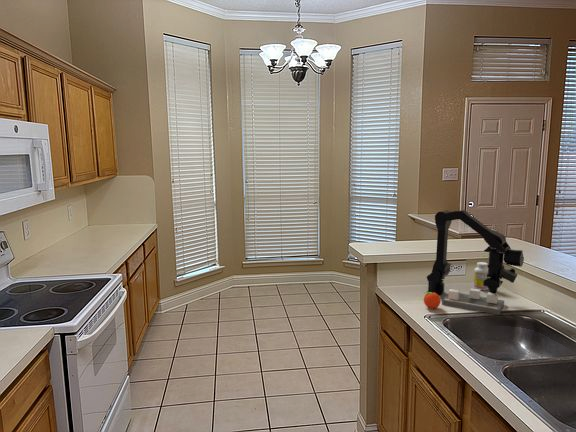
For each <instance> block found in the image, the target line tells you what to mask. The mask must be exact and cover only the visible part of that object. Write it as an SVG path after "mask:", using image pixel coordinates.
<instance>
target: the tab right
mask: <svg viewBox="0 0 576 432" xmlns="http://www.w3.org/2000/svg"><path fill="white" fill-rule="evenodd" d="M486 298H487V302H489V303H495V304H497V302H498V300H499V293H490V291H488V292H487V294H486Z"/></svg>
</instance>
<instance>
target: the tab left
mask: <svg viewBox="0 0 576 432" xmlns="http://www.w3.org/2000/svg"><path fill="white" fill-rule="evenodd" d="M448 293H449V295H448V299H454V300H458V299H459V295H460V293H461V291H460V290H458V289H453V288H450V289H449V290H448Z"/></svg>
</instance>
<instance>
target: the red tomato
mask: <svg viewBox="0 0 576 432" xmlns="http://www.w3.org/2000/svg"><path fill="white" fill-rule="evenodd" d="M423 295H424V296H422V295H421V298H422V297H423V302H424V303H423V304H424V305H425V307H427V308H429V309H431V310H432V309H437V308H438V307H439V306H440V304H441V298H440V295H438V294H436V293H434V292H427V291H426V292H425V293H424V292H423Z"/></svg>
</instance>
